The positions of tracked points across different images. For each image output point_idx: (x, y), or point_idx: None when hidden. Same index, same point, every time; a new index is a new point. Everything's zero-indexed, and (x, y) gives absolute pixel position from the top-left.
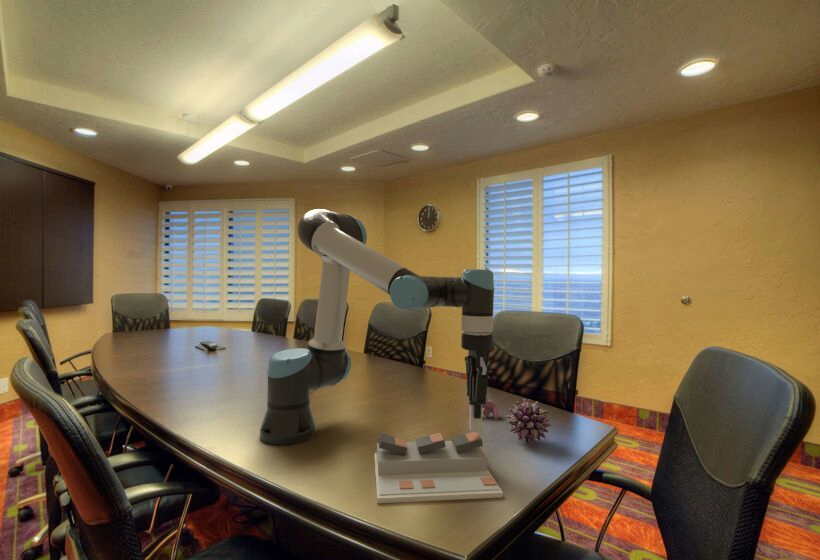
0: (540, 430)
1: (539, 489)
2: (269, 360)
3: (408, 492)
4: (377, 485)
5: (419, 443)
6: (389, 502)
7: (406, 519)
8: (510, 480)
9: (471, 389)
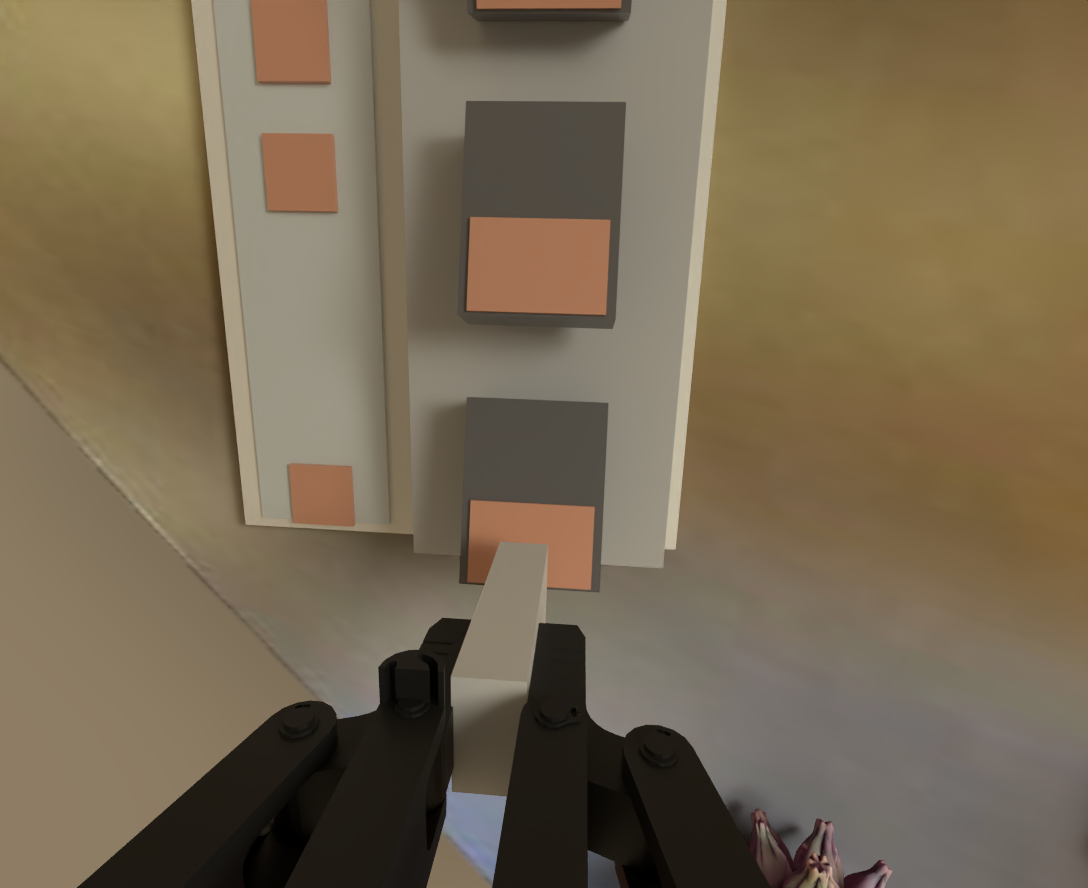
0: None
1: (317, 682)
2: None
3: (222, 47)
4: None
5: (515, 121)
6: None
7: (80, 30)
8: (391, 602)
9: (500, 854)
